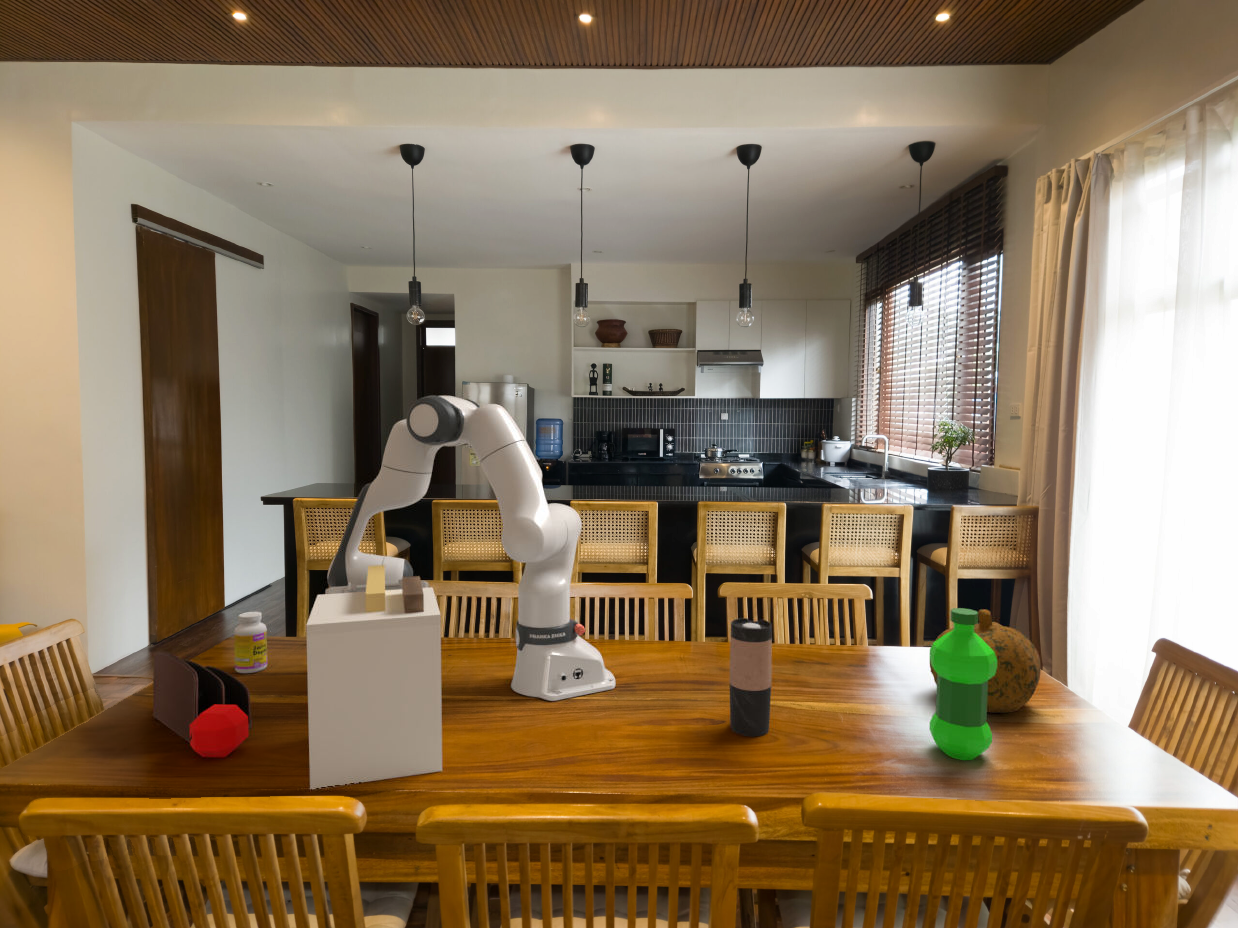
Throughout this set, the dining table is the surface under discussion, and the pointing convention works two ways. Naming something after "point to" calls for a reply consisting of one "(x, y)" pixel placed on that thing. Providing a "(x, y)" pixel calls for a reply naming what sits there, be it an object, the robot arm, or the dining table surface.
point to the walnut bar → (412, 594)
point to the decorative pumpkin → (1007, 665)
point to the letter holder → (192, 692)
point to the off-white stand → (373, 689)
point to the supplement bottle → (250, 643)
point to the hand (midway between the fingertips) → (377, 584)
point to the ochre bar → (375, 589)
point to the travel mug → (750, 676)
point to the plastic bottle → (962, 688)
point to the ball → (218, 730)
